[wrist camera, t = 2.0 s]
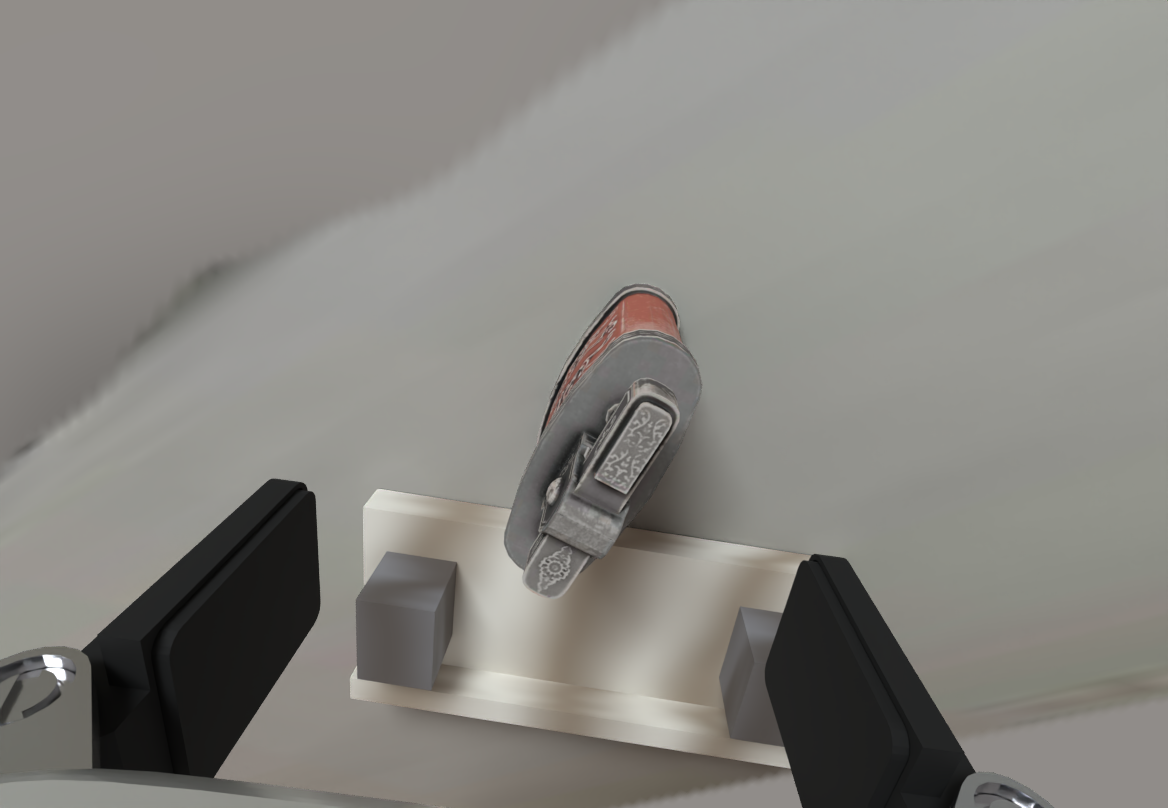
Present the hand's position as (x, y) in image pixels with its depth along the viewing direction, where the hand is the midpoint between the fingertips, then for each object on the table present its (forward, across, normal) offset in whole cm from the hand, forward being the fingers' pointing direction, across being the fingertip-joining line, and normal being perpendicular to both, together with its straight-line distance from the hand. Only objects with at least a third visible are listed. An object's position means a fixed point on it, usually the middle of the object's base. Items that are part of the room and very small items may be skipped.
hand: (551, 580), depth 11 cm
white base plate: (+12, -2, +11) cm, 17 cm away
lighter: (+12, -1, 0) cm, 13 cm away
